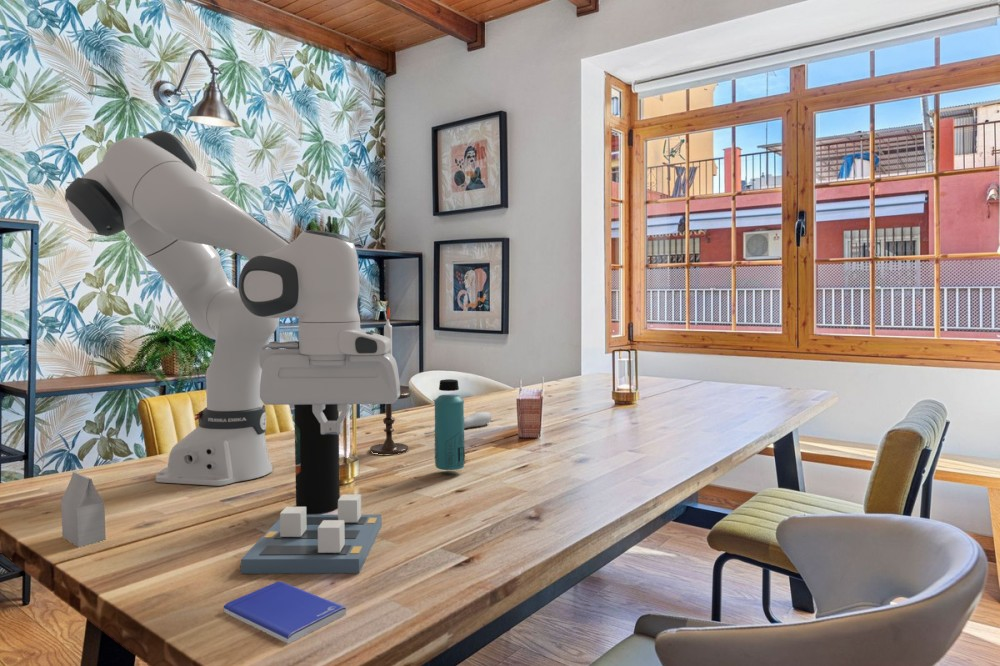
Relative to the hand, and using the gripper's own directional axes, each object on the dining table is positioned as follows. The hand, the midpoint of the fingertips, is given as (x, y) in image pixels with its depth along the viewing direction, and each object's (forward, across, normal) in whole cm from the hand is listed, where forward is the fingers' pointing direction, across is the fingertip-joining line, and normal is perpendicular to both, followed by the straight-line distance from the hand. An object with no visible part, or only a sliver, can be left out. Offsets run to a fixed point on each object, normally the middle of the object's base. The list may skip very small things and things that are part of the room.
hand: (331, 433), depth 98 cm
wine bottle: (+18, -7, +18) cm, 26 cm away
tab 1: (+15, -6, 0) cm, 16 cm away
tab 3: (+15, +1, +5) cm, 16 cm away
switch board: (+17, -2, -1) cm, 17 cm away
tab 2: (+15, +1, -7) cm, 16 cm away
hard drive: (+18, -1, -21) cm, 27 cm away
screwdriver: (+18, +16, +85) cm, 88 cm away
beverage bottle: (+18, +15, +40) cm, 46 cm away
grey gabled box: (+17, -40, +4) cm, 43 cm away
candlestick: (+18, 0, +60) cm, 63 cm away
